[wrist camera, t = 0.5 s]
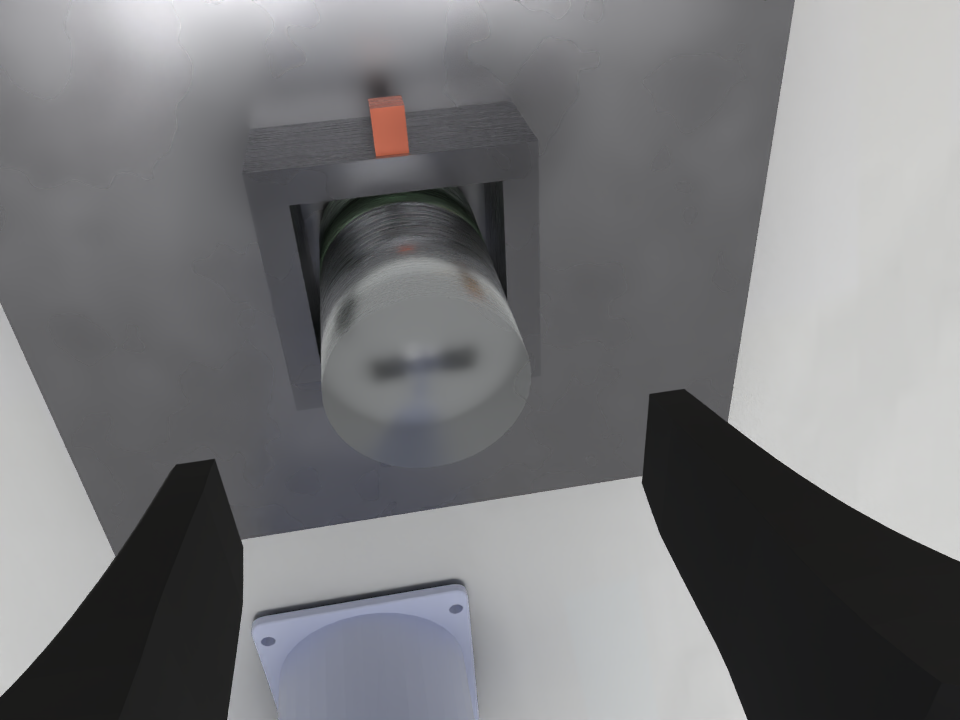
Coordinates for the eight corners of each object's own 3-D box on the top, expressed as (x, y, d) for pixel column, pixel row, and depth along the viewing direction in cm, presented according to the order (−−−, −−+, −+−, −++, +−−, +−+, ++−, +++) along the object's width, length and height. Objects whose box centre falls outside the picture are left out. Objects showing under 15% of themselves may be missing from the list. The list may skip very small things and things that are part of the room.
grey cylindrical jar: (480, 296, 22) (532, 451, 17) (332, 315, 22) (338, 481, 16) (471, 154, 20) (529, 284, 15) (306, 172, 19) (304, 312, 14)
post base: (707, 440, 29) (757, 522, 26) (123, 531, 27) (98, 633, 23) (809, -273, 17) (923, -290, 14) (-201, -216, 15) (-339, -219, 12)
